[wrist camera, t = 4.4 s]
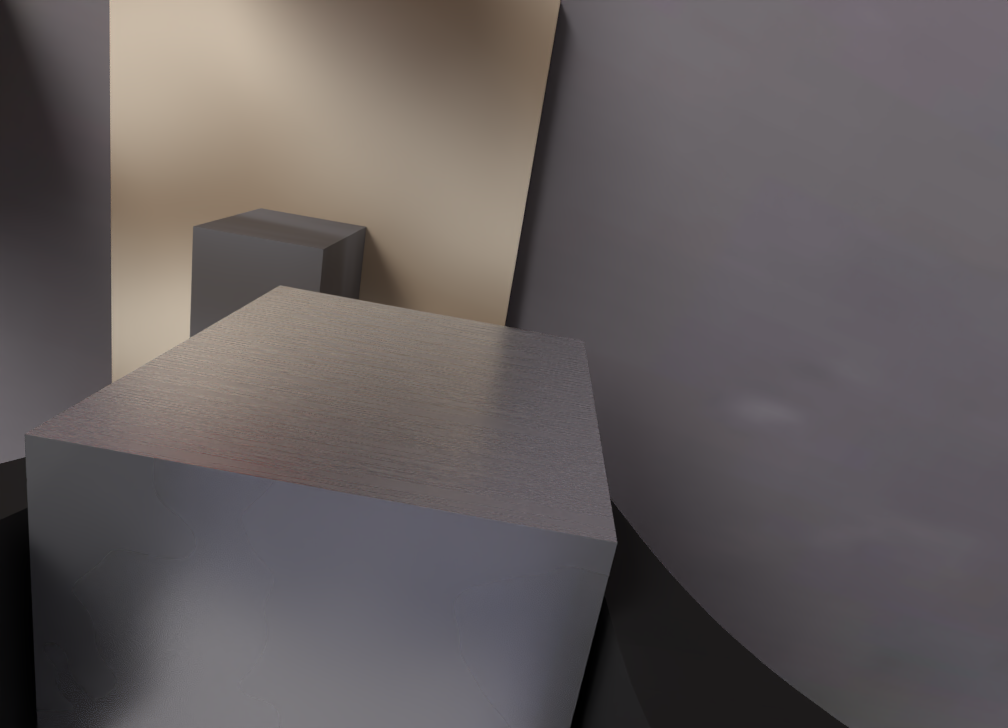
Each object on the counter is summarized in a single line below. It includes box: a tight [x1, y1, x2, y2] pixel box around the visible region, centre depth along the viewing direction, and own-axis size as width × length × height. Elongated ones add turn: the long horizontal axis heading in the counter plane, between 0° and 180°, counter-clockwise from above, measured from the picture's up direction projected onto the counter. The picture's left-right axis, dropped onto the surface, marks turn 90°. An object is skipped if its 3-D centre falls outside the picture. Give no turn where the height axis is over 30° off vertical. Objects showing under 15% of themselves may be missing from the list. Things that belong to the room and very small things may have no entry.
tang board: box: [110, 0, 561, 383], centre depth 17 cm, size 14×10×4 cm
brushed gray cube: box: [25, 286, 617, 728], centre depth 10 cm, size 5×5×6 cm
